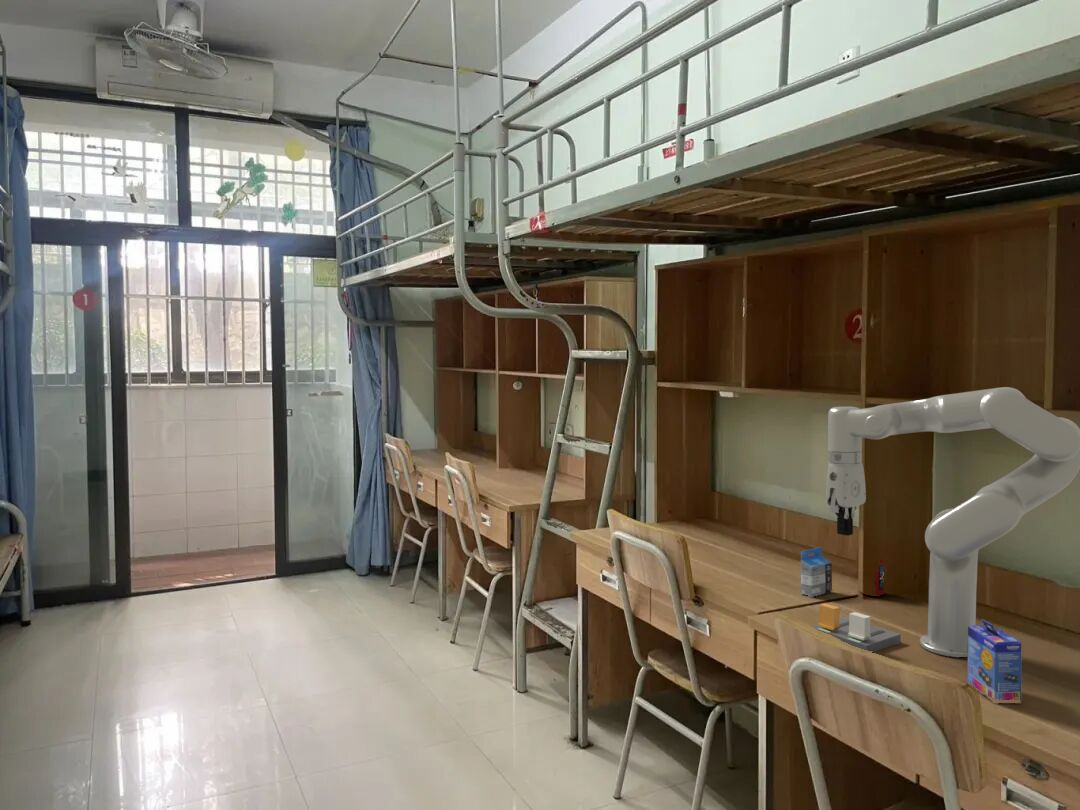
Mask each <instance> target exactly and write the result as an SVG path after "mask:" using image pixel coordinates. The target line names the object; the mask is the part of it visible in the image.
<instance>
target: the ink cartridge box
mask: <svg viewBox="0 0 1080 810" xmlns="http://www.w3.org/2000/svg"><path fill="white" fill-rule="evenodd" d="M981 621H982V623H983V625H981V624H980V625H979V624H978V625H977V624H975V625H973V626H968V658H967V683H968V682H969V683H970V684H972V685H973V686H975V688H977V689H978V690H979V691H982V692H983V693H985V694H987V695H988V696H990V697H992V698H994V699H999V700H1000V699H1001V700H1010V699H1011V700H1012V699H1014V700H1021V701H1022V641H1021V640H1019V639H1018V638H1015V637H1014V636H1012V635H1010V634H1009V633H1006V632H1003V630H1002V629H1000V628H998V627H996V626H994V624H992V623H990V622H988V621H986V620H984V619H983V618H981Z"/></svg>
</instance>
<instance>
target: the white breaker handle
mask: <svg viewBox="0 0 1080 810" xmlns="http://www.w3.org/2000/svg"><path fill="white" fill-rule="evenodd" d="M848 618H849V633H848V636H851V637H854V638H857V639H860V640H863V641H864V640H867V639H870V638H871V636H870V625H871V616H870V615H866V614H863V613H860V612H856V611H854V612H850V613H849V615H848Z"/></svg>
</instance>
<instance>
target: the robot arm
mask: <svg viewBox="0 0 1080 810" xmlns="http://www.w3.org/2000/svg"><path fill="white" fill-rule="evenodd" d="M827 417H828V419H827V421H828V422H827V423H828V425H827V427H828V429H827V432H828V434H827V435H828V436H827V439H828V443H827V445H828V446H827V447H828V448H827V449H828V453H827V455H828V456H827V457H828V459H827V460H828V461H827V462H828V466H827V467H828V468H827V473H826V484H825V485H826V488H825V497H826V499H825V500H826V503H827V505H828V506H829V512H830V513H834V514H835V518H836V528H837V530H836V533H837V534H838V535H842V536H843V535H844V536H852V535H853V534H854V517H855V513H856V510H857V509H858V508H860V506H861V505H863V504H865V503H866V501H867V500H866V499H867V493H866V492H867V491H866V490H867V489H866V488H867V487H866V477H865V476H866V475H865V470H864V464H863V455H862V454H863V453H862V452H863V451H862V450H863V438H864V439H868V440H869V439H870V440H882V439H885V438H888V437H889V436H897V435H902V434H911V433H912V434H913V433H923V432H933V433H939V434H941V433H942V434H943V433H944V434H947V433H948V434H950V433H959V432H966V431H976V430H986V429H987V430H988V429H995V431H997V432H999V433H1001V434H1002V435H1004V436H1005V437H1006V438H1008V439H1010V440H1012V441H1013V442H1015V443H1017V444H1018V445H1020V446H1022V447H1024V449H1026V450H1028V451H1030V452H1031V453H1034V454H1033V456H1031V458H1030V459H1029V460H1028V461H1026V462H1025V463H1023V464H1022V465H1020V466H1019V467H1017V468H1015V469H1014V470H1013V471H1011V472H1009V473H1008V474H1006V475H1004V476H1002V477H1001V478H999V479H998V480H995V481H994V482H992V483H990V484H988V485H985V486H984V487H981V488H980V489H979V490H978V491H977V492H976V493H975V495H973V496H971V497H970V498H969V499H967V500H966V501H964V502H962V503H960V504H959V505H957V506H956V507H954V508H947V509H944V510H942V511H939V512H938V513H937V514H935V516H934V517H933V518H932V519H931V521H930V522H929V524H928V525H927V527H926V529H925V531H924V532H925V533H924V541H925V545H926V548H927V549H928V550H929V552H930V553H929V554H930V555H929V577H928V610H927V611H928V614H927V615H928V617H927V618H928V619H927V634H925V635H922V636H921V637H920V639H919V643H920V646H921V647H923V649H925V650H927V651H929V652H931V653H934V654H936V655H940V656H945V657H950V656H951V657H952V658H959V657H968V626H973V625H976V622H977V621H976V619H977V618H976V617H977V616H976V615H977V586H978V585H977V584H978V583H977V582H978V559H979V558H978V557H979V550H980V549H982V548H984V547H986V546H987V545H989V544H991V543H993V542H994V541H996V540H998V539H1000V538H1002V537H1003V536H1005V535H1006V534H1008V533H1009V532H1010V531H1012V530H1013V529H1014V528H1015V527H1016V526H1017V525H1018V524H1019V523H1020V520H1021V518H1022V517H1023V516H1024V515H1026V514H1027V513H1028V512H1031V510H1032V511H1033V509H1035V508H1037V507H1039V506H1040V505H1042V504H1043V503H1044V502H1046V501H1048V500H1049V499H1051V498H1052V497H1054V496H1055V495H1057V494H1059V493H1060V492H1062V491H1063V490H1064V489H1065V488H1067V487H1068V486H1069V485H1070V484H1071V483H1072V481H1073V480H1074V479H1075V478H1076V476H1077V474H1078V473H1079V471H1080V427H1079V426H1078V425H1077V424H1076V423H1075V422H1074V421H1072V420H1071V419H1069V418H1065V417H1060V416H1059V417H1058V416H1056V415H1055V414H1053V413H1051V412H1049V411H1047V410H1046V409H1044V408H1042V407H1041V406H1039V405H1038V404H1036V403H1034V402H1033V401H1031V400H1029V399H1028V398H1026V396H1025V395H1024V394H1023V392H1021V391H1020V390H1019V389H1017V388H1014V387H1011V386H1010V387H1009V386H1003V387H995V388H987V389H980V390H979V389H978V390H973V391H972V390H970V391H965V392H957V393H951V394H950V393H949V394H948V393H947V394H942V395H936V396H932V397H929V398H924V399H919V400H918V399H917V400H911V401H904V402H903V401H902V402H894V403H888V404H882V405H881V404H880V405H876V406H873V407H866V408H859V407H856V406H833V407H831V408H830V409H829V410H828V414H827Z"/></svg>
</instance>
